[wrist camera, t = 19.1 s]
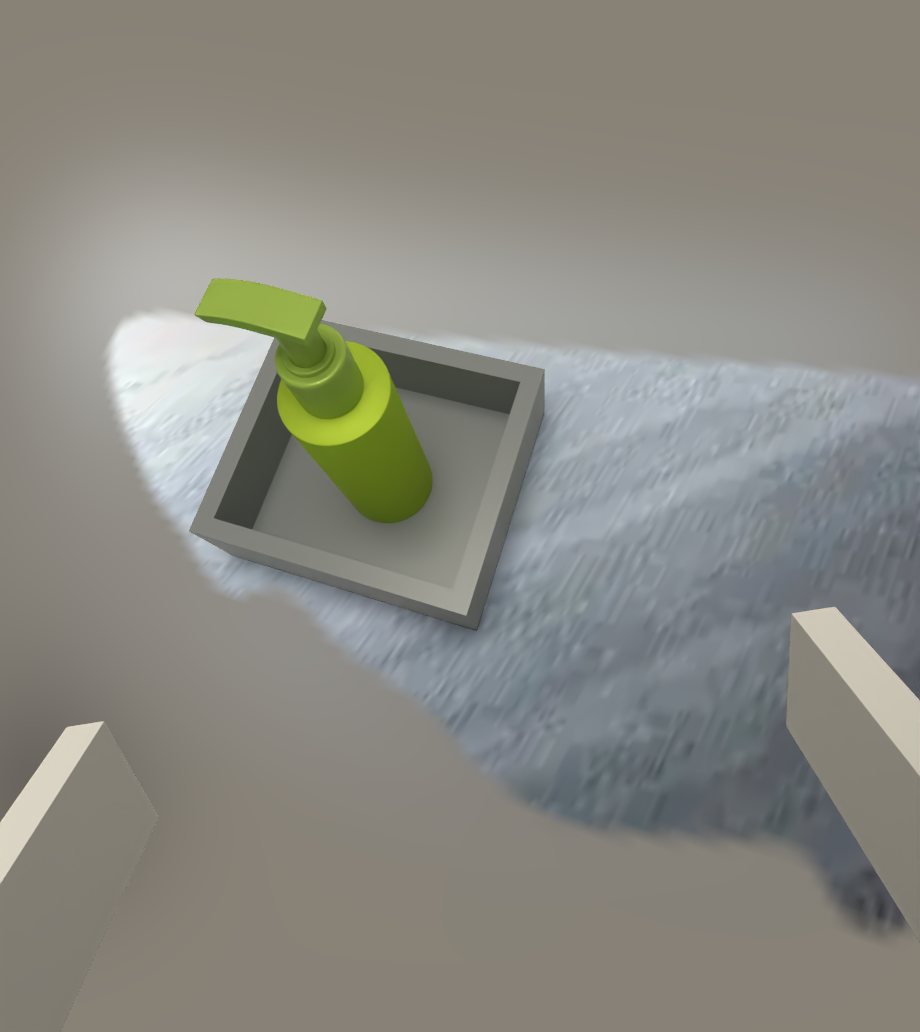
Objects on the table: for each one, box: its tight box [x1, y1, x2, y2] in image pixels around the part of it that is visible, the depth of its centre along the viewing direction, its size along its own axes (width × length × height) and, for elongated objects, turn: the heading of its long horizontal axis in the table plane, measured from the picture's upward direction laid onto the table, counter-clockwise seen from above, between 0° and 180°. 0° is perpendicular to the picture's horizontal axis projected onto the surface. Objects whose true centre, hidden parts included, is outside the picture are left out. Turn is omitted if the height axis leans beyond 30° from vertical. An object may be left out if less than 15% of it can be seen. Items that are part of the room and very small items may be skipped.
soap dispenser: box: [195, 279, 432, 523], centre depth 36 cm, size 6×7×20 cm
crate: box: [189, 320, 544, 631], centre depth 44 cm, size 18×16×6 cm
